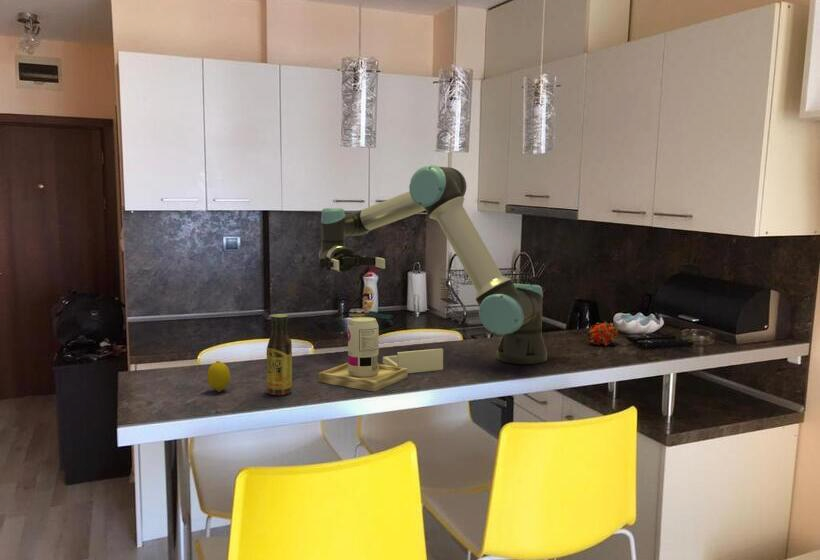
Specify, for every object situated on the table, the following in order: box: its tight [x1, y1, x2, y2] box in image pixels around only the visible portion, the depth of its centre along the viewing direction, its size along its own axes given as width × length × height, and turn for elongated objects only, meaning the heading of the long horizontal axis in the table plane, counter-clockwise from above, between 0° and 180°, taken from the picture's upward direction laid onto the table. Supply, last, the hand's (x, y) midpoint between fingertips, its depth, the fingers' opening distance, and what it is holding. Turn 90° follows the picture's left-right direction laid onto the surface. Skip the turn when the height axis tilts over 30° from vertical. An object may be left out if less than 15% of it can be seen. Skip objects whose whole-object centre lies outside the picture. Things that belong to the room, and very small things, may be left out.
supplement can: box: [347, 316, 380, 377], centre depth 178 cm, size 8×8×15 cm
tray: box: [318, 362, 409, 393], centre depth 178 cm, size 18×16×2 cm
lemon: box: [206, 360, 231, 393], centre depth 167 cm, size 6×6×8 cm
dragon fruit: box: [586, 320, 619, 347], centre depth 221 cm, size 8×8×12 cm
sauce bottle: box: [266, 313, 293, 397], centre depth 165 cm, size 6×6×20 cm
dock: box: [382, 348, 444, 374], centre depth 192 cm, size 14×14×6 cm
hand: (361, 264), depth 187 cm, fingers open, 13 cm apart
